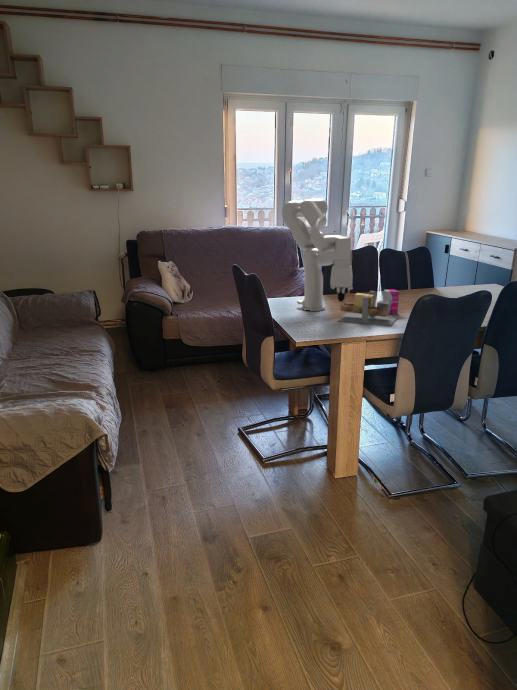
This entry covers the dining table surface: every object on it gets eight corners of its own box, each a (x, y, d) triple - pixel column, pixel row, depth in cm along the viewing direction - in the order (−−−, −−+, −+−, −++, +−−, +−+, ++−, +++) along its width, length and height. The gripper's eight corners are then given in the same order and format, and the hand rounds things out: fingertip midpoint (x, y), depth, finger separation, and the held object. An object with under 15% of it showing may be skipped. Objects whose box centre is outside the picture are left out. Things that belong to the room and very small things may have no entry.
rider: (353, 308, 246) (355, 294, 244) (355, 307, 250) (357, 292, 248) (370, 311, 243) (371, 296, 241) (372, 309, 247) (373, 294, 245)
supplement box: (387, 314, 256) (388, 291, 253) (381, 311, 262) (383, 289, 259) (398, 313, 258) (399, 291, 255) (392, 311, 263) (393, 289, 260)
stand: (337, 321, 245) (338, 295, 241) (347, 313, 260) (348, 289, 256) (390, 326, 235) (392, 299, 231) (397, 317, 250) (399, 292, 246)
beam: (340, 310, 248) (341, 295, 246) (343, 307, 254) (345, 292, 251) (386, 317, 240) (387, 301, 237) (388, 314, 245) (390, 298, 243)
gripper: (324, 263, 244) (324, 301, 250) (355, 265, 238) (354, 303, 244) (329, 261, 251) (328, 298, 256) (359, 262, 245) (358, 300, 250)
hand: (341, 300), depth 250 cm, fingers closed
